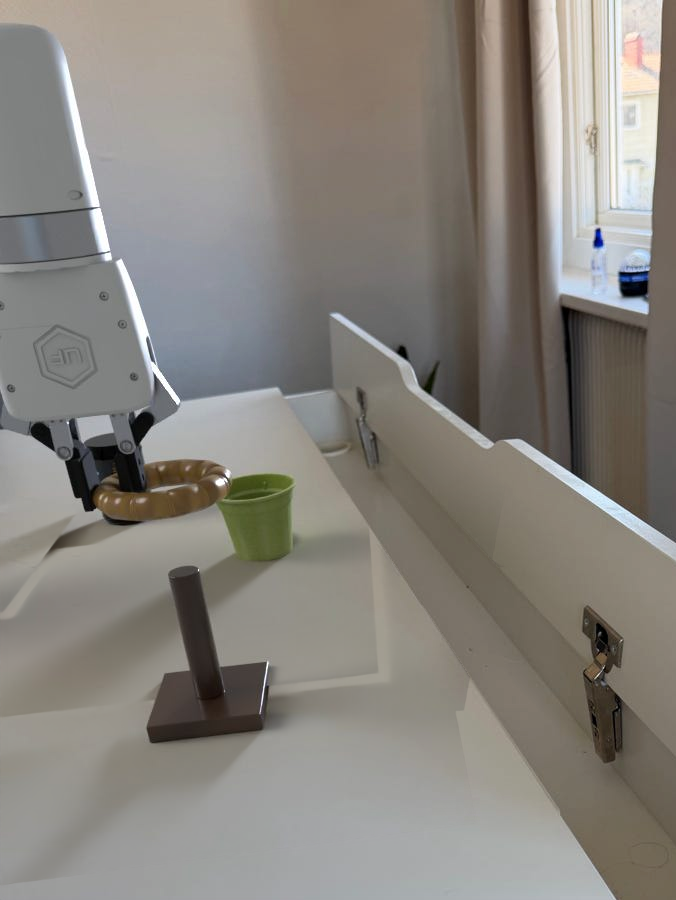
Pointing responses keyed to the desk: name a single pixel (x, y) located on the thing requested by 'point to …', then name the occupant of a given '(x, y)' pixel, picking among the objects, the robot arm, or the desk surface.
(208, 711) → the peg stand
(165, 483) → the ring
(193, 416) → the desk surface
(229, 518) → the plant pot
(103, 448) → the supplement container
